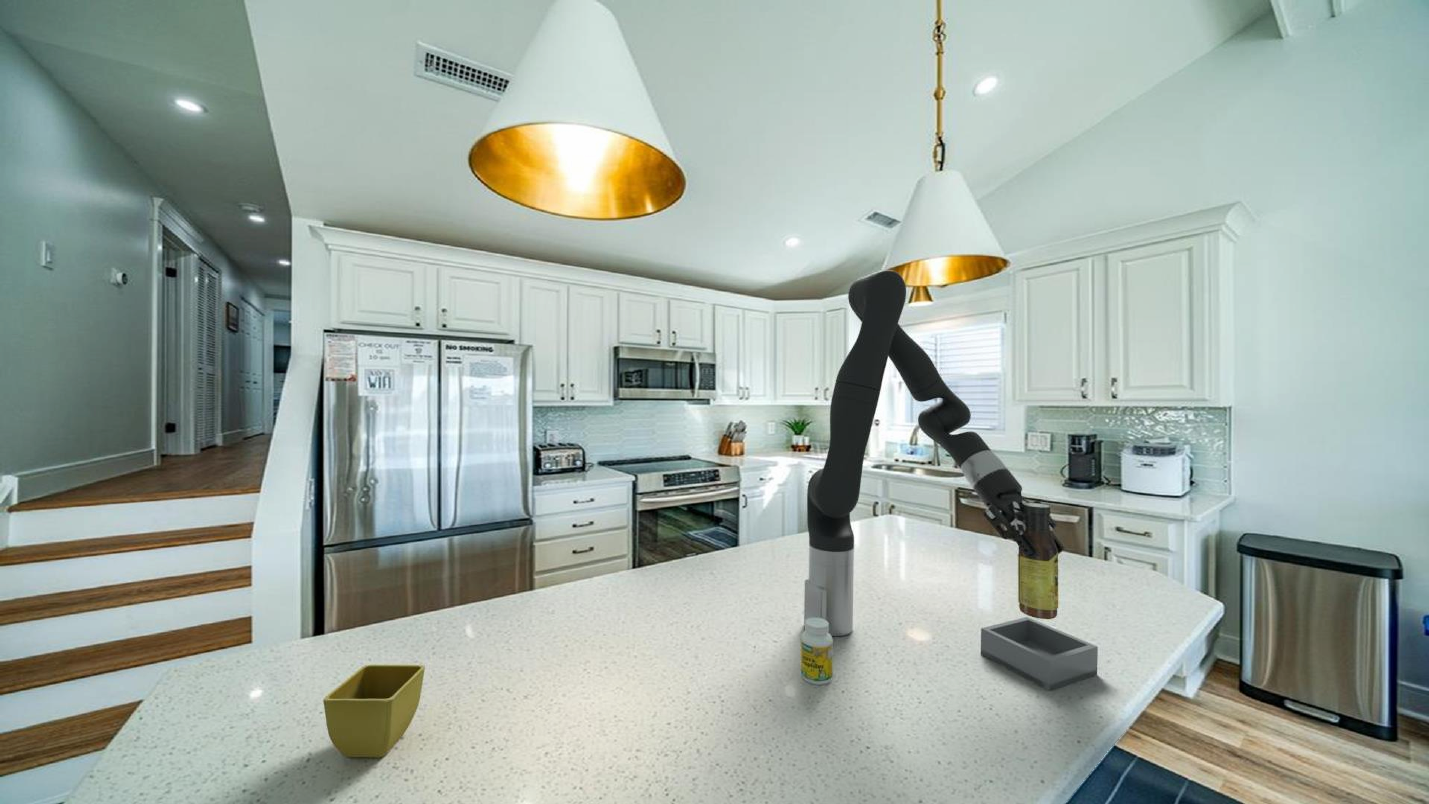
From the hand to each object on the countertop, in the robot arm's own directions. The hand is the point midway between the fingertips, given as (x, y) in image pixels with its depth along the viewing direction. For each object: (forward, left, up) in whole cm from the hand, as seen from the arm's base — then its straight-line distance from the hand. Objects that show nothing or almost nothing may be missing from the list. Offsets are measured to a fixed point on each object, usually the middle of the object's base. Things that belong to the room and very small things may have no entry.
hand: (1047, 554), depth 92 cm
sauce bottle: (0, +2, -11) cm, 12 cm away
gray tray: (0, +2, -21) cm, 21 cm away
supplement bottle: (-40, +14, -21) cm, 47 cm away
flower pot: (-106, +23, -21) cm, 110 cm away
